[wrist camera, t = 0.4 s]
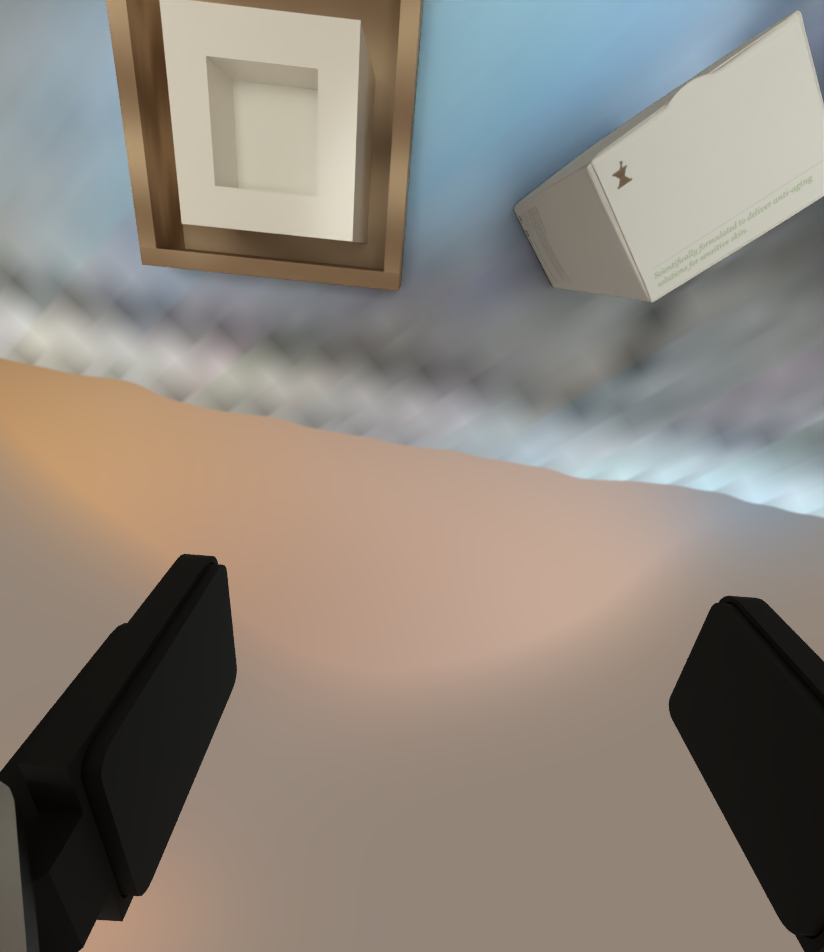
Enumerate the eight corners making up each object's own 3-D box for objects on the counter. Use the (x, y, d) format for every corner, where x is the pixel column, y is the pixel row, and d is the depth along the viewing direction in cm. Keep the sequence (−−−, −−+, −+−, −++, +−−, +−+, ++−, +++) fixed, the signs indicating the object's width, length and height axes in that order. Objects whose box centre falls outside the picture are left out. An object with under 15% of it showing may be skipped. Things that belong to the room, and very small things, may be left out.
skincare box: (551, 289, 34) (643, 316, 20) (507, 201, 32) (577, 162, 18) (663, 216, 32) (853, 189, 18) (625, 116, 30) (809, -4, 16)
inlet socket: (224, 60, 28) (158, -4, 21) (375, 78, 29) (360, 20, 22) (234, 229, 32) (181, 223, 25) (367, 243, 33) (352, 241, 25)
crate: (137, -96, 26) (84, -161, 22) (427, -60, 27) (429, -118, 22) (176, 262, 34) (142, 264, 30) (400, 285, 34) (398, 290, 30)
